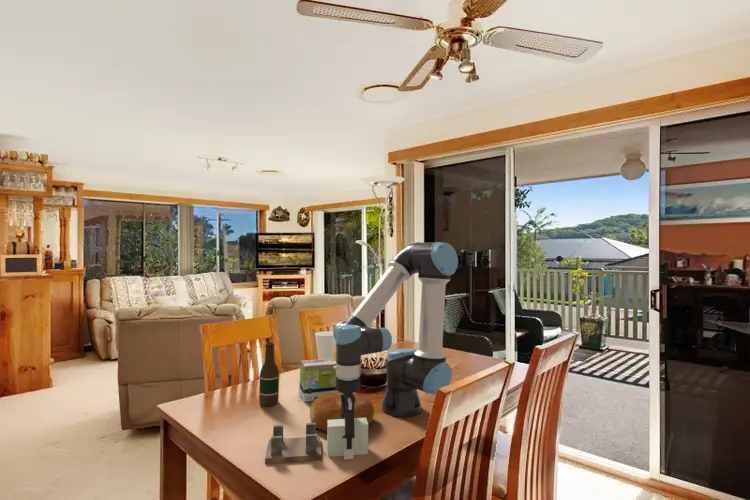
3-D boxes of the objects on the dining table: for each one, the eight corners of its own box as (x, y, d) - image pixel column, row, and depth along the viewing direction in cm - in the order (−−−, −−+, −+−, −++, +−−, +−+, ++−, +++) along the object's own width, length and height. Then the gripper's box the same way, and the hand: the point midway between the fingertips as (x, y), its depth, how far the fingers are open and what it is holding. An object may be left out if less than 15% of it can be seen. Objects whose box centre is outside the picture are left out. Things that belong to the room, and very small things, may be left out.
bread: (353, 406, 162) (353, 380, 162) (386, 428, 142) (386, 399, 142) (298, 418, 150) (299, 390, 150) (326, 444, 130) (327, 412, 130)
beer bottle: (273, 408, 158) (274, 345, 158) (255, 406, 160) (256, 344, 160) (282, 400, 166) (283, 341, 166) (264, 399, 168) (265, 340, 168)
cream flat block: (365, 446, 129) (365, 417, 129) (367, 454, 124) (368, 424, 124) (327, 448, 127) (327, 419, 127) (327, 457, 122) (328, 426, 122)
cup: (315, 360, 228) (315, 331, 228) (336, 359, 229) (336, 331, 229) (314, 366, 216) (314, 335, 216) (336, 365, 217) (337, 335, 217)
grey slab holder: (320, 440, 132) (320, 420, 132) (321, 459, 120) (321, 437, 120) (268, 444, 129) (269, 423, 129) (265, 463, 117) (265, 441, 117)
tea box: (303, 403, 164) (304, 366, 164) (299, 394, 173) (299, 359, 173) (340, 398, 169) (340, 363, 169) (333, 390, 179) (333, 356, 179)
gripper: (333, 367, 135) (332, 435, 135) (338, 389, 114) (337, 470, 114) (356, 366, 136) (354, 434, 136) (365, 388, 115) (364, 468, 115)
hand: (346, 450), depth 125 cm, fingers open, 9 cm apart
